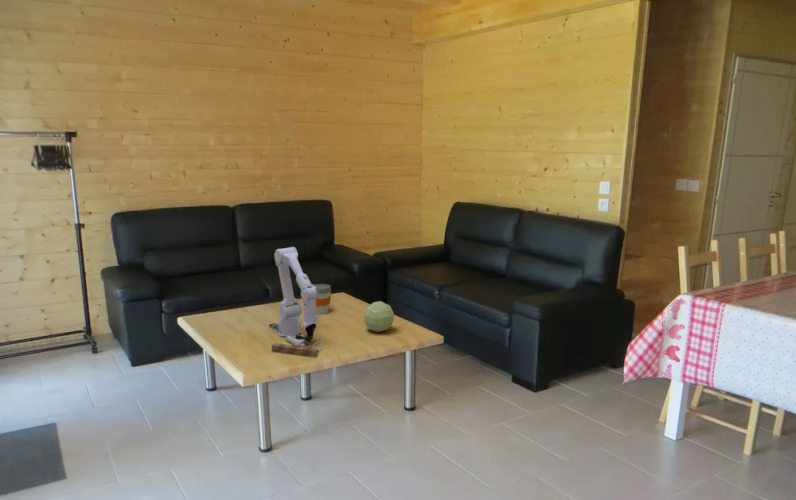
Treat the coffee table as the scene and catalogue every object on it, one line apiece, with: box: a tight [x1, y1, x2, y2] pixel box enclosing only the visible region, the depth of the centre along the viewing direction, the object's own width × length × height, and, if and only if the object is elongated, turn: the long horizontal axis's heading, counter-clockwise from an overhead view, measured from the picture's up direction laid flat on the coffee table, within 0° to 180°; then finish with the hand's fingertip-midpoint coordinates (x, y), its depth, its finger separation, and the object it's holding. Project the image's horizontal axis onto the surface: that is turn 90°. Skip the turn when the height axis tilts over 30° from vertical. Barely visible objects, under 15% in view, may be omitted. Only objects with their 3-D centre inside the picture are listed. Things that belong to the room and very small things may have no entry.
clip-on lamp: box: [285, 332, 323, 353], centre depth 270 cm, size 12×6×18 cm
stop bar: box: [271, 342, 319, 358], centre depth 264 cm, size 22×3×3 cm, turn 71°
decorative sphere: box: [363, 300, 395, 333], centre depth 295 cm, size 15×15×15 cm
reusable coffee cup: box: [313, 283, 332, 315], centre depth 326 cm, size 13×12×15 cm
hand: (310, 338), depth 277 cm, fingers closed, pressing on clip-on lamp
